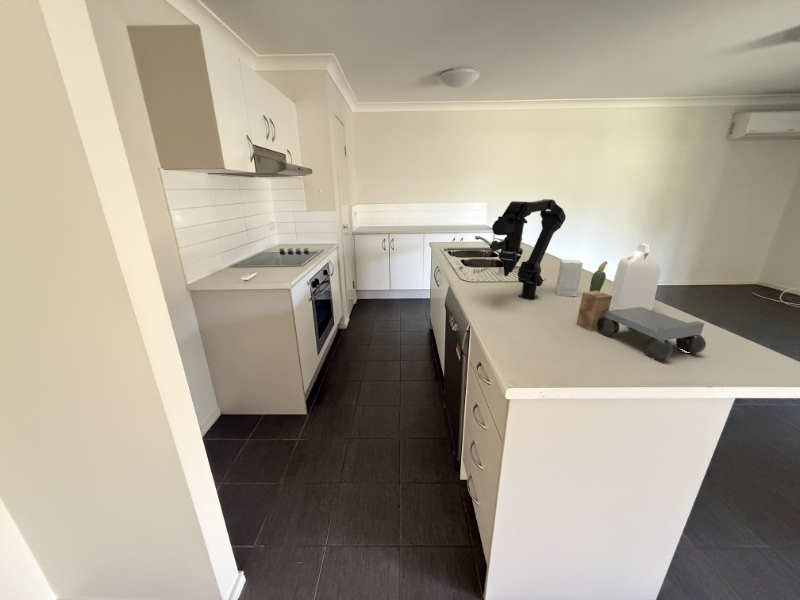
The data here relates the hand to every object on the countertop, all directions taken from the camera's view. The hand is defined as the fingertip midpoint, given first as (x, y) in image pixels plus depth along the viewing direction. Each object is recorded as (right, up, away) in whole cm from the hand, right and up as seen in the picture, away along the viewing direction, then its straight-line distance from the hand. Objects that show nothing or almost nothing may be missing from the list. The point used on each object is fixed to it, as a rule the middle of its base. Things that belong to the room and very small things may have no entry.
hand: (508, 274), depth 127 cm
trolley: (+32, -24, -29) cm, 50 cm away
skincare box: (+32, -8, +17) cm, 37 cm away
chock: (+22, -20, -18) cm, 35 cm away
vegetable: (+32, -15, -3) cm, 35 cm away
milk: (+48, -14, -1) cm, 50 cm away
